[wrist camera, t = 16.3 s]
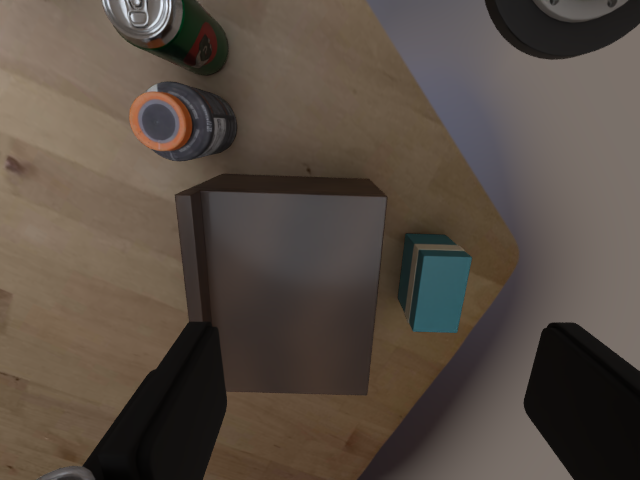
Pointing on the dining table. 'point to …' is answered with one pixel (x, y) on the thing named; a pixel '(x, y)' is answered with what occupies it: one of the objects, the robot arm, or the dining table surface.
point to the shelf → (285, 278)
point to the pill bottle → (182, 121)
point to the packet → (433, 282)
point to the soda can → (171, 31)
